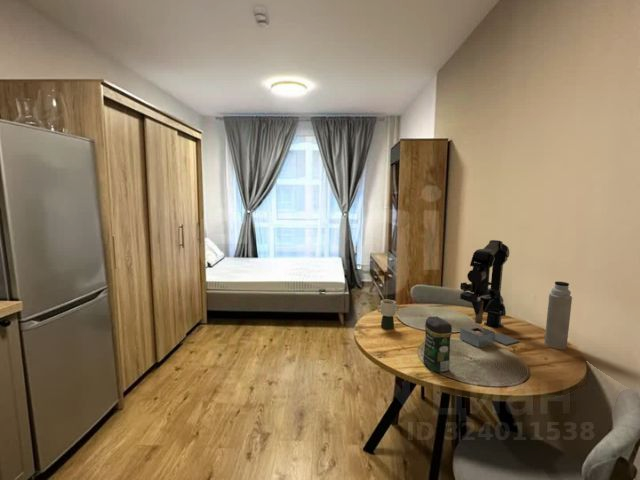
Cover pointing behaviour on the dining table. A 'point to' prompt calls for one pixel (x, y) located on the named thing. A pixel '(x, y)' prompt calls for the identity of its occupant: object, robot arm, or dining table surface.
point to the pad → (505, 339)
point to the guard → (477, 335)
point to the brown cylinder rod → (479, 315)
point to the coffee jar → (437, 344)
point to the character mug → (388, 313)
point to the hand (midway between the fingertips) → (479, 314)
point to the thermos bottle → (558, 316)
